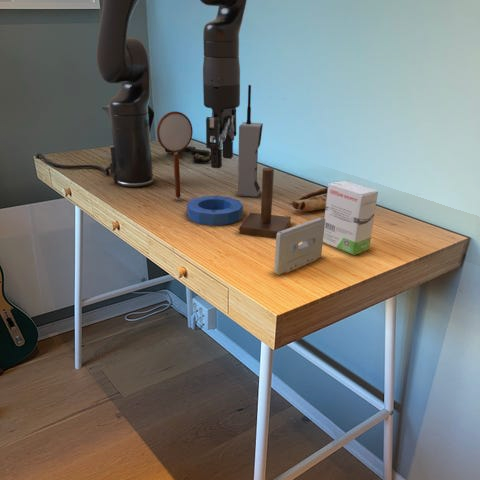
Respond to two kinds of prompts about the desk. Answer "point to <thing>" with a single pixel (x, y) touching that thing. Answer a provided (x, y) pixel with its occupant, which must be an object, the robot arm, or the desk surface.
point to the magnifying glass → (175, 139)
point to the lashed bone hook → (311, 201)
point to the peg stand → (265, 213)
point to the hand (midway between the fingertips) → (222, 162)
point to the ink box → (349, 216)
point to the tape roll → (214, 210)
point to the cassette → (297, 255)
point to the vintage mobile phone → (248, 154)
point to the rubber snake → (197, 152)
